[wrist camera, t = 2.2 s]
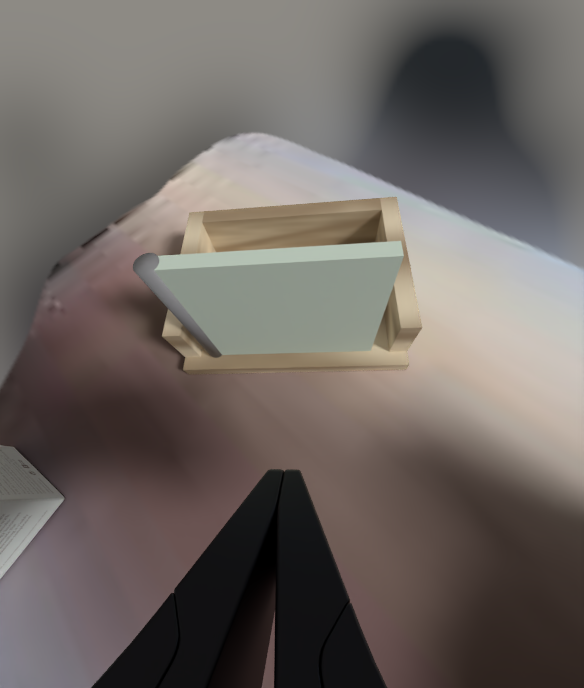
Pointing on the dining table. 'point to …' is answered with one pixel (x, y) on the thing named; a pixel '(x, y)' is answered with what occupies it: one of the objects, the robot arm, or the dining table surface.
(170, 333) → the wooden tray
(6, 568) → the small box
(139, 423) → the dining table surface
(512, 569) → the dining table surface
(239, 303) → the door
